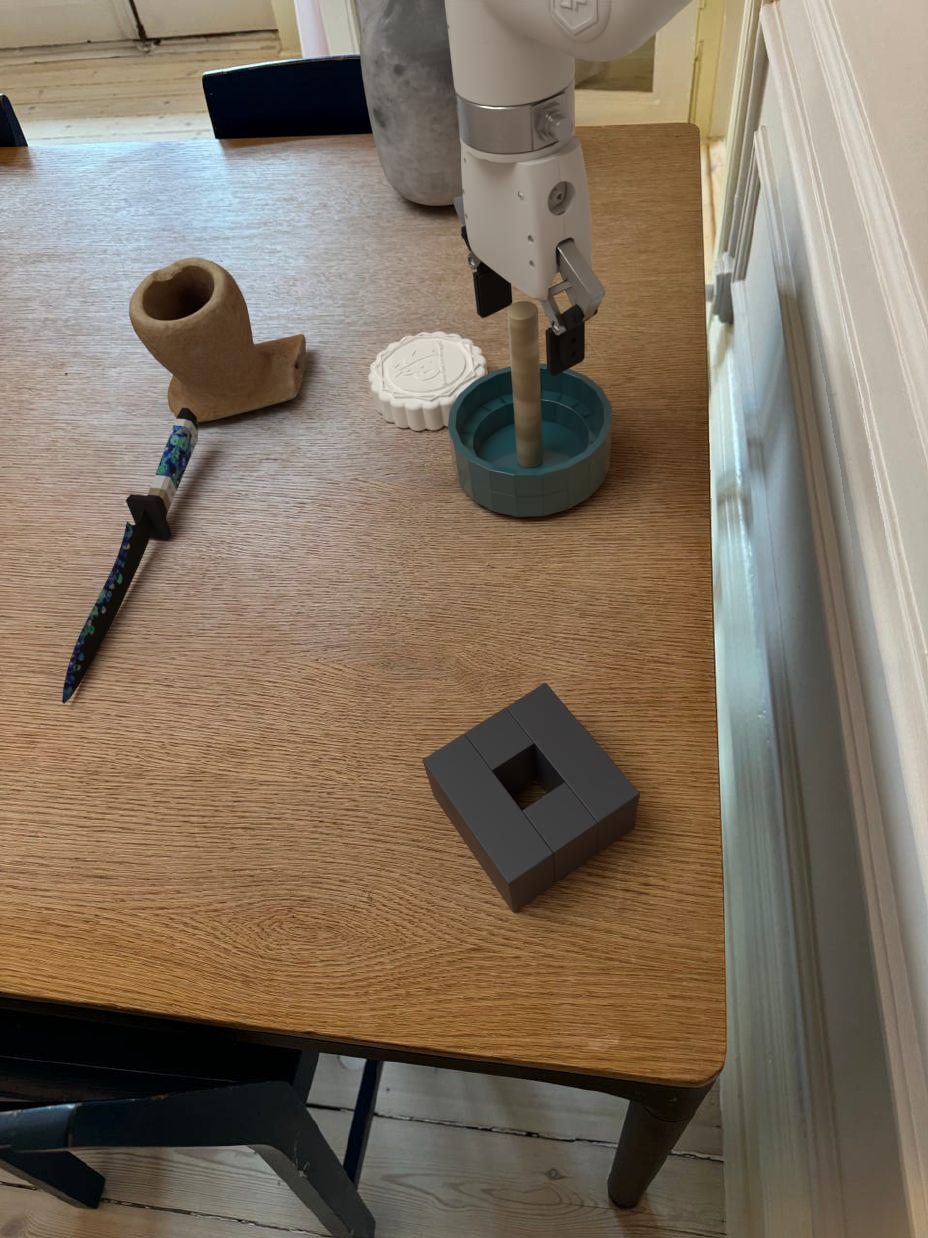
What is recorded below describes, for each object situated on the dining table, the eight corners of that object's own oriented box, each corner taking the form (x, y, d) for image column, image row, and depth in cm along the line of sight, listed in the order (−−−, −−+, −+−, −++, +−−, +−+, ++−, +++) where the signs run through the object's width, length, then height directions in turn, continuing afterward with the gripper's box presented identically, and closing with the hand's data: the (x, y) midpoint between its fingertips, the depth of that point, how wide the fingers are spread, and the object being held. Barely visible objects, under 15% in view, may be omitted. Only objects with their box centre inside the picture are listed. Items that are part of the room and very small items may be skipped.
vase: (401, 160, 116) (356, -123, 92) (517, 160, 113) (503, -133, 88) (370, 225, 107) (312, -69, 83) (496, 227, 104) (473, -77, 80)
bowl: (548, 393, 86) (547, 343, 81) (641, 473, 78) (646, 424, 73) (427, 456, 82) (418, 408, 77) (512, 547, 74) (508, 500, 70)
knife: (195, 433, 85) (176, 402, 82) (222, 437, 85) (204, 405, 81) (53, 710, 72) (22, 688, 68) (84, 716, 71) (54, 694, 67)
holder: (547, 722, 64) (545, 681, 59) (634, 828, 59) (640, 793, 54) (433, 796, 62) (421, 759, 57) (513, 913, 56) (508, 884, 51)
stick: (532, 446, 80) (526, 296, 67) (548, 460, 79) (544, 310, 66) (512, 457, 80) (501, 308, 67) (526, 471, 78) (518, 323, 66)
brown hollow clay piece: (171, 450, 86) (106, 323, 74) (173, 377, 93) (114, 250, 81) (318, 420, 87) (278, 289, 74) (310, 350, 94) (271, 219, 81)
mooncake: (371, 363, 91) (364, 335, 88) (482, 347, 91) (479, 318, 88) (375, 440, 84) (368, 412, 81) (495, 422, 84) (493, 394, 81)
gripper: (650, 135, 51) (635, 370, 65) (489, 52, 60) (506, 273, 74) (548, 182, 49) (555, 413, 63) (398, 89, 58) (433, 308, 72)
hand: (529, 337), depth 68 cm, fingers open, 9 cm apart
